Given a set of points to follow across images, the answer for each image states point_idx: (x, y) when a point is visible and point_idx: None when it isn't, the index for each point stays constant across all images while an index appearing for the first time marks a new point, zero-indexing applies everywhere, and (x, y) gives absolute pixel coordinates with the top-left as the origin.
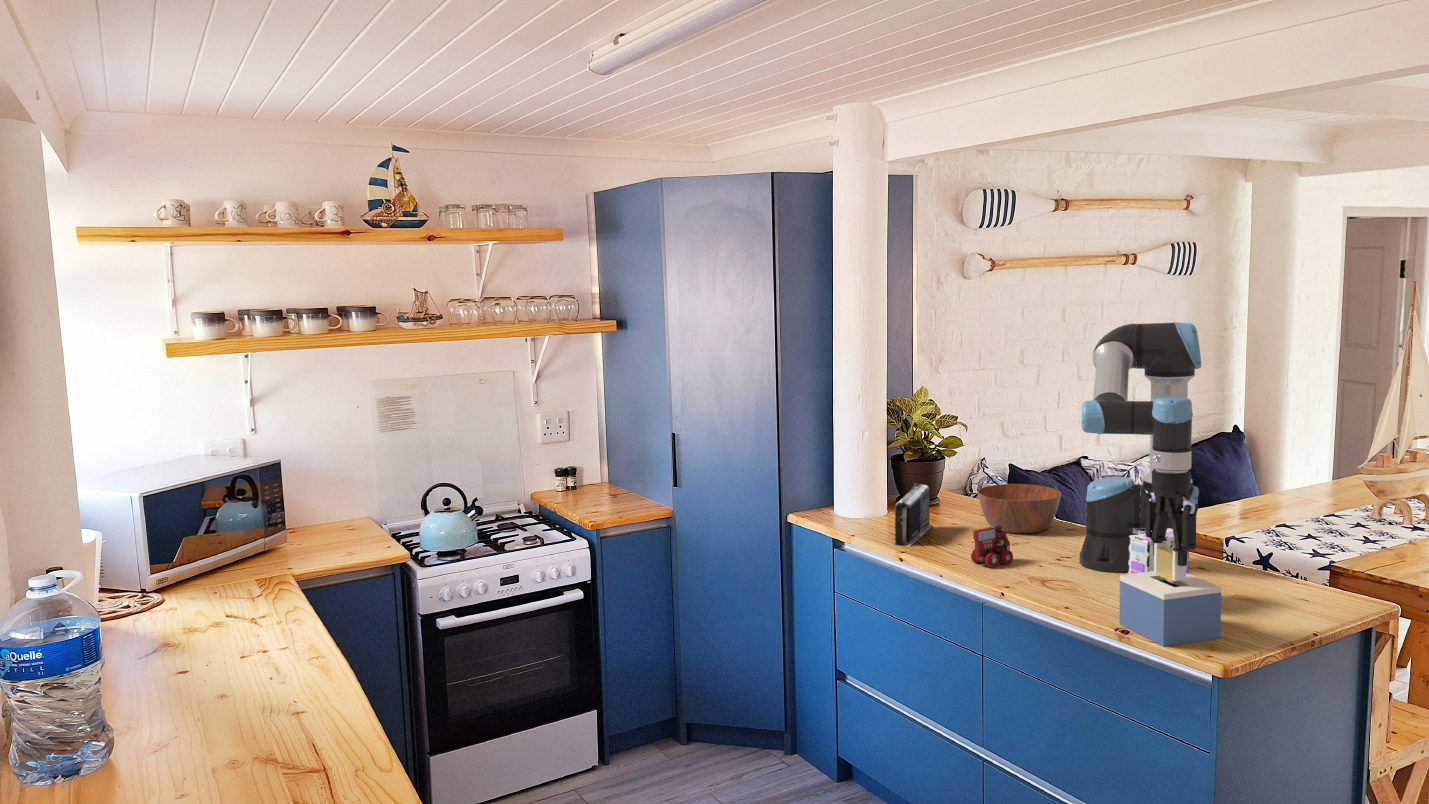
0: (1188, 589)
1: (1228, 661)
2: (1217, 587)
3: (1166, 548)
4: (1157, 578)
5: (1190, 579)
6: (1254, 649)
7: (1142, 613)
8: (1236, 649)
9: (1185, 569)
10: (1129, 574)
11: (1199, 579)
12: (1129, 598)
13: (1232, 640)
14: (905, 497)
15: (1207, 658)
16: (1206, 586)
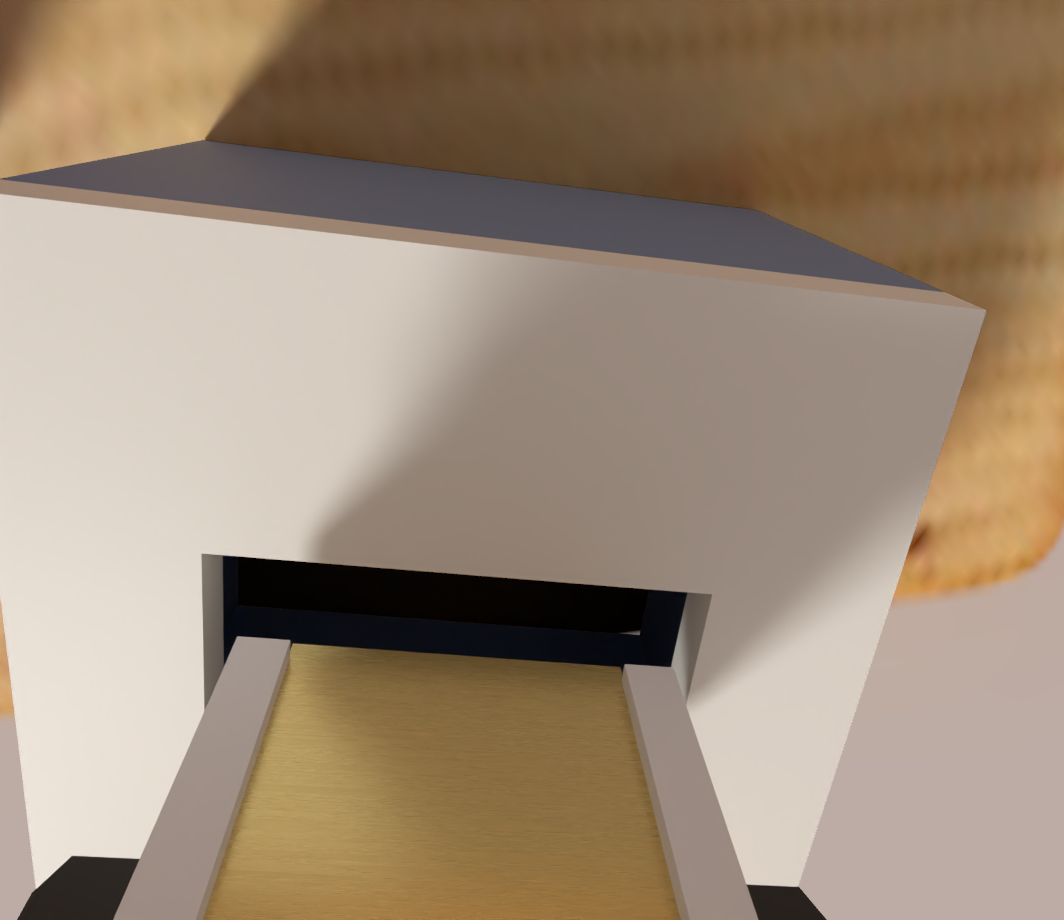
0: (801, 718)
1: (1037, 506)
2: (961, 373)
3: None
4: (214, 625)
5: (533, 419)
6: (1039, 174)
7: None
8: (958, 294)
9: (709, 777)
10: (51, 874)
11: (593, 306)
12: None
13: (837, 164)
14: None
15: (932, 576)
16: (854, 469)
